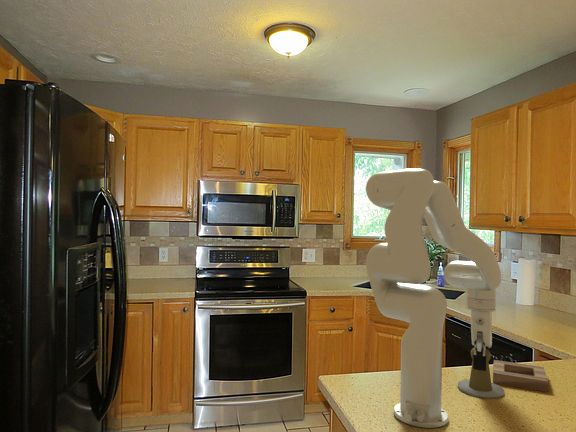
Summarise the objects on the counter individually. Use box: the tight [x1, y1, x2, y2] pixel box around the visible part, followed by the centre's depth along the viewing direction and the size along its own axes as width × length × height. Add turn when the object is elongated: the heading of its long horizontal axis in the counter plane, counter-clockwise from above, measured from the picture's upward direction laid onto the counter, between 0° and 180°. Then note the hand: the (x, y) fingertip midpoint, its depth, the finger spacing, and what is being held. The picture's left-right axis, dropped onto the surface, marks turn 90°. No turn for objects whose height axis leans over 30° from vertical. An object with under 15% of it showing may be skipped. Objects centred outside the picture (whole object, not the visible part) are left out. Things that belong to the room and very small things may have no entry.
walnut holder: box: [492, 359, 549, 393], centre depth 128 cm, size 14×14×3 cm
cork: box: [469, 347, 492, 392], centre depth 119 cm, size 6×6×11 cm
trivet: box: [457, 378, 505, 400], centre depth 120 cm, size 12×12×1 cm
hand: (480, 364), depth 120 cm, fingers open, 9 cm apart
